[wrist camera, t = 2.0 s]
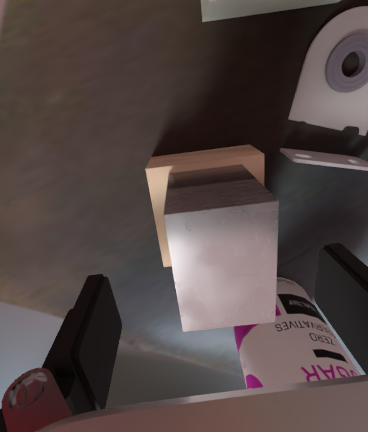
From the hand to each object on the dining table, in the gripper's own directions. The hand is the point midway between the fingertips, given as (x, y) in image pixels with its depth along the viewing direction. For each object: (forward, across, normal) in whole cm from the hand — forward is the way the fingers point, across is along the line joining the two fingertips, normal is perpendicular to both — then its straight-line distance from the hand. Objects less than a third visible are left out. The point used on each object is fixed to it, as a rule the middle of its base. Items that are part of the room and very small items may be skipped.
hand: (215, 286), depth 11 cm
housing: (+8, -1, 0) cm, 8 cm away
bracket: (+13, -11, -6) cm, 18 cm away
